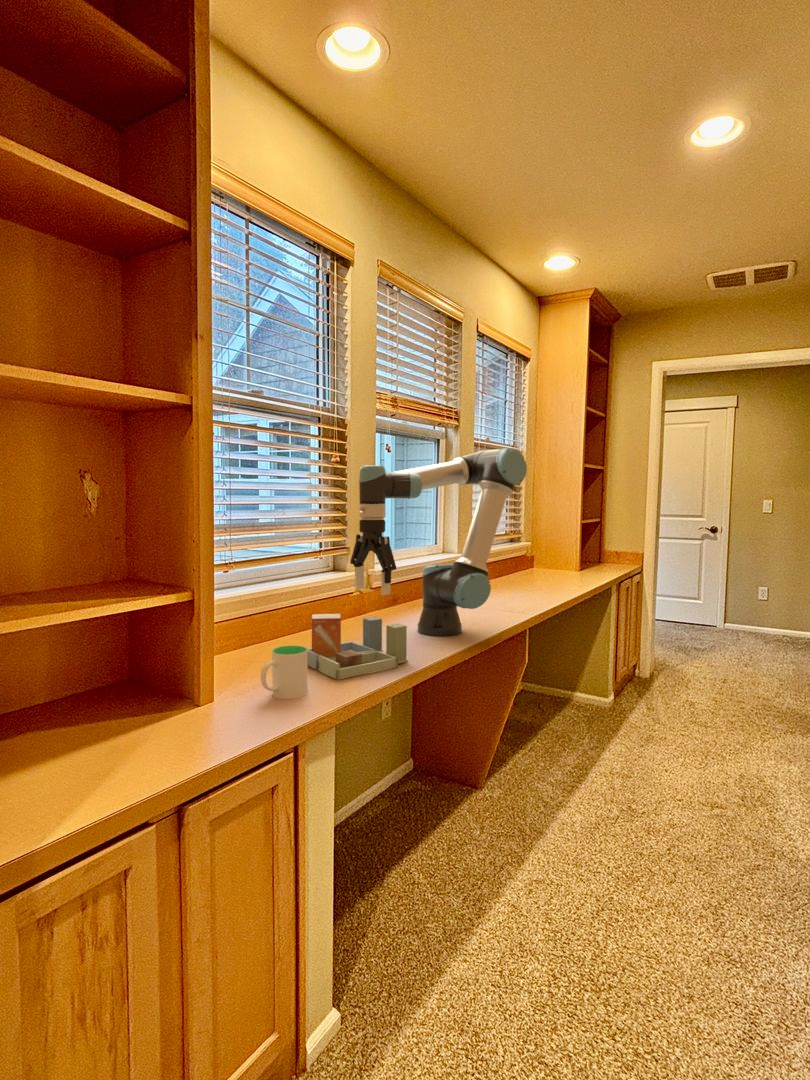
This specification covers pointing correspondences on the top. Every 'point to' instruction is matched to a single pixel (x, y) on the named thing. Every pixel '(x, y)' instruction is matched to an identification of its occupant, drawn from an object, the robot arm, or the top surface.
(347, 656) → the walnut block
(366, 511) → the robot arm
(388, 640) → the tray
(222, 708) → the top surface
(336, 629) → the small box
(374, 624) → the tray
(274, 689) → the mug
